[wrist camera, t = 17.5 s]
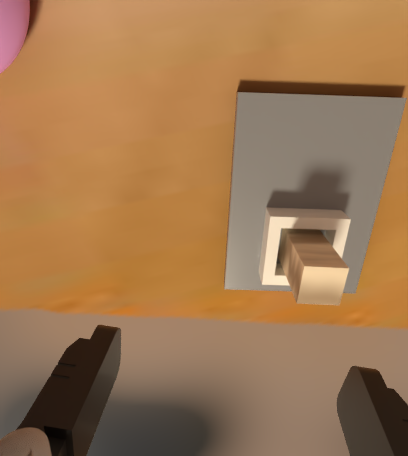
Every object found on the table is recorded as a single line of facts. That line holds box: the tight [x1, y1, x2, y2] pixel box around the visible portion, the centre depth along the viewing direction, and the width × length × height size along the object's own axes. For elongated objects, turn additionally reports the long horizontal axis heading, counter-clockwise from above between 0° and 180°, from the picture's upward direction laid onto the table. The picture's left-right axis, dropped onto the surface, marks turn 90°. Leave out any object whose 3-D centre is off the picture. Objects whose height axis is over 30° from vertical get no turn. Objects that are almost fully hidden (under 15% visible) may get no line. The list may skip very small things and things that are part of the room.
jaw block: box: [278, 228, 349, 305], centre depth 37 cm, size 4×4×10 cm
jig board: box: [224, 92, 407, 293], centre depth 39 cm, size 25×18×4 cm
